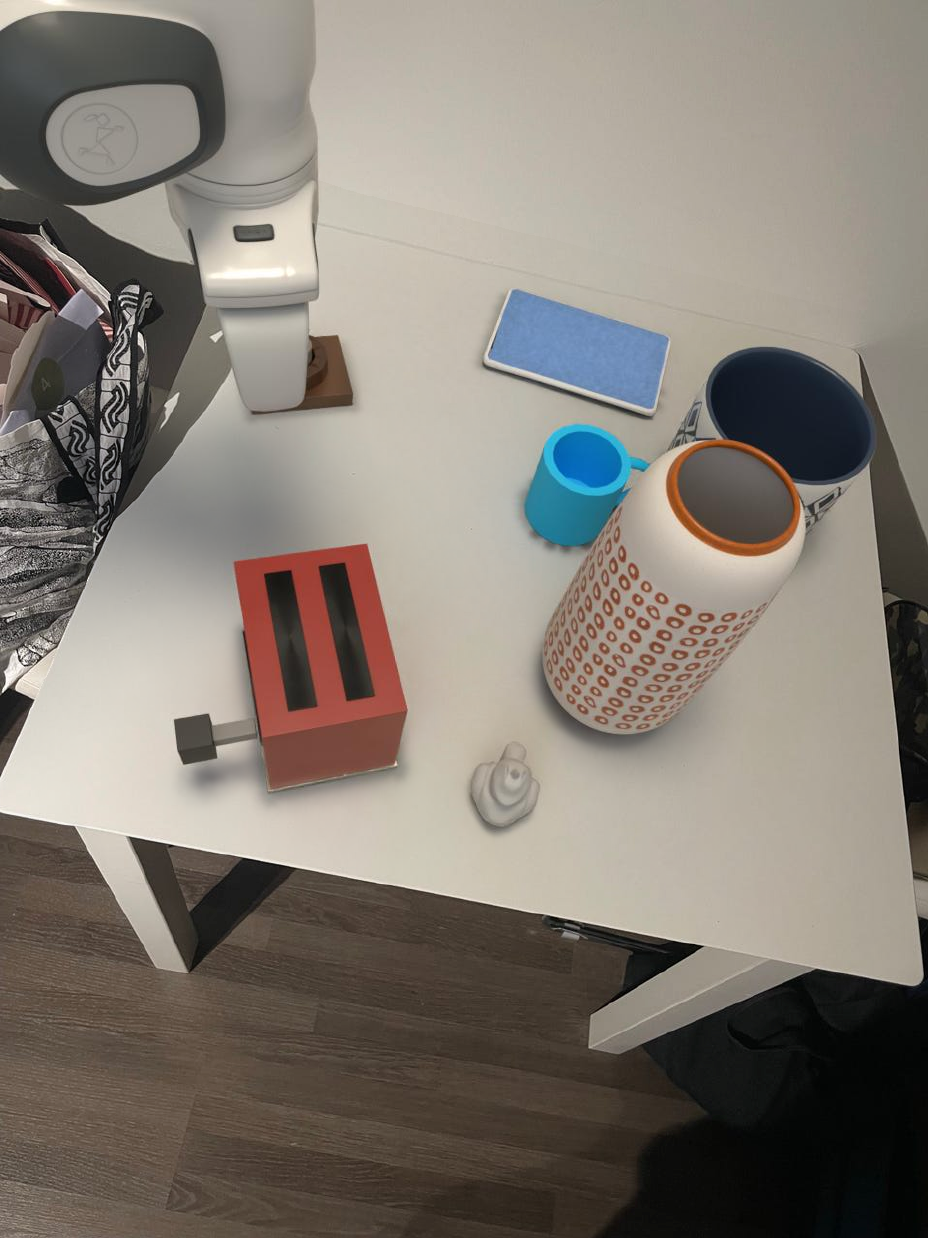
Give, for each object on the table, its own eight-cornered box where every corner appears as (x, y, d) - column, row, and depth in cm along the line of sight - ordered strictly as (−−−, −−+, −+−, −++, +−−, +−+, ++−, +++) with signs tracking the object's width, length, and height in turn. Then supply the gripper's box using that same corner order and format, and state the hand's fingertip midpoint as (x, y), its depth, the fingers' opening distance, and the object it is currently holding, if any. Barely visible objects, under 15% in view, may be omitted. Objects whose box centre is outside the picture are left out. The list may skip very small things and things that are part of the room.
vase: (693, 743, 75) (874, 579, 51) (546, 758, 73) (662, 593, 48) (655, 609, 81) (800, 404, 57) (518, 618, 79) (608, 408, 54)
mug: (536, 550, 83) (556, 499, 75) (515, 481, 86) (533, 427, 79) (651, 537, 85) (681, 487, 78) (626, 471, 89) (653, 417, 82)
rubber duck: (458, 821, 69) (474, 791, 62) (479, 746, 72) (496, 710, 65) (523, 841, 69) (545, 814, 62) (540, 765, 72) (564, 732, 65)
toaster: (268, 794, 68) (258, 740, 57) (242, 633, 74) (229, 558, 63) (397, 767, 70) (411, 712, 60) (362, 614, 77) (369, 539, 66)
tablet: (479, 367, 93) (481, 358, 91) (508, 291, 99) (510, 282, 98) (651, 422, 93) (656, 414, 91) (669, 343, 99) (673, 334, 98)
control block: (252, 414, 85) (249, 389, 82) (240, 354, 89) (238, 328, 86) (352, 404, 88) (353, 380, 85) (337, 346, 91) (338, 321, 88)
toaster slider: (183, 765, 62) (177, 751, 59) (179, 734, 63) (173, 719, 60) (259, 750, 63) (257, 736, 61) (254, 720, 64) (252, 705, 62)
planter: (662, 427, 92) (716, 324, 80) (804, 473, 92) (880, 377, 80) (637, 544, 85) (693, 450, 72) (792, 594, 85) (874, 509, 72)
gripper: (170, 74, 54) (200, 256, 67) (205, 308, 46) (232, 469, 58) (272, 73, 56) (283, 252, 68) (324, 300, 47) (326, 458, 59)
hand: (260, 353), depth 63 cm, fingers open, 8 cm apart
